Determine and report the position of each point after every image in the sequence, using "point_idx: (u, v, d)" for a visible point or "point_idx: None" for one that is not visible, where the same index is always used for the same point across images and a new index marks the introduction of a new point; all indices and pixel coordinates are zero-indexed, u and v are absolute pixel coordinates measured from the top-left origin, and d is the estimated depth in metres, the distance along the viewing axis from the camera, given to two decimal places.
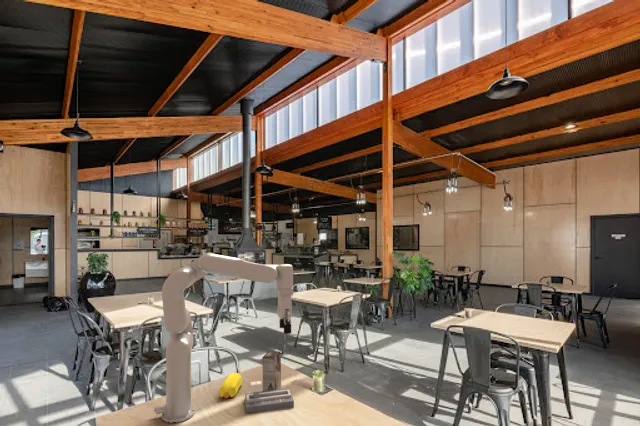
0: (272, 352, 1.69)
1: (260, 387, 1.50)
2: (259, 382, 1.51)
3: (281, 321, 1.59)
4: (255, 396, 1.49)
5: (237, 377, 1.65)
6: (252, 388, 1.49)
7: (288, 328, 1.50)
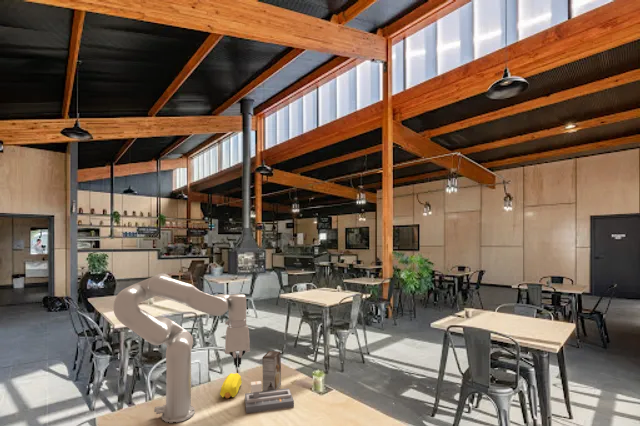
0: (272, 352, 1.69)
1: (260, 387, 1.50)
2: (259, 382, 1.51)
3: None
4: (255, 396, 1.49)
5: (237, 377, 1.65)
6: (252, 388, 1.49)
7: None
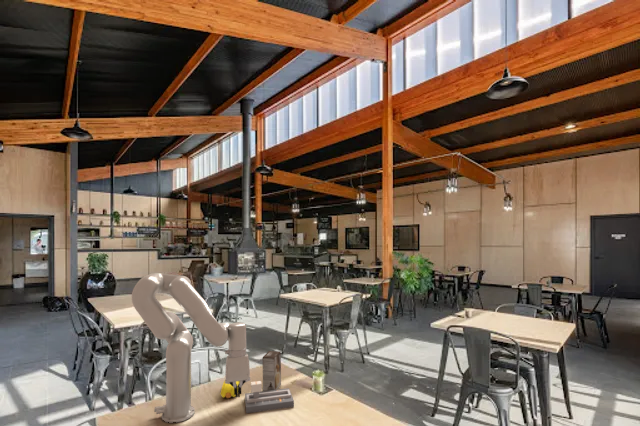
0: (272, 352, 1.69)
1: (260, 387, 1.50)
2: (259, 382, 1.51)
3: None
4: (255, 396, 1.49)
5: None
6: (252, 388, 1.49)
7: None
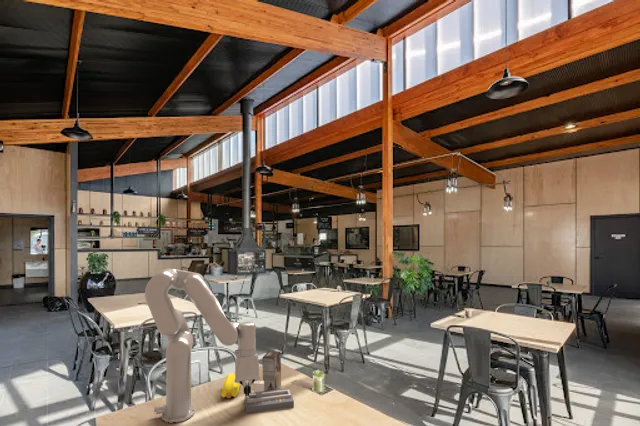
0: (272, 352, 1.69)
1: (263, 387, 1.50)
2: (262, 382, 1.51)
3: (247, 388, 1.49)
4: (258, 396, 1.49)
5: None
6: (255, 388, 1.49)
7: (250, 388, 1.50)
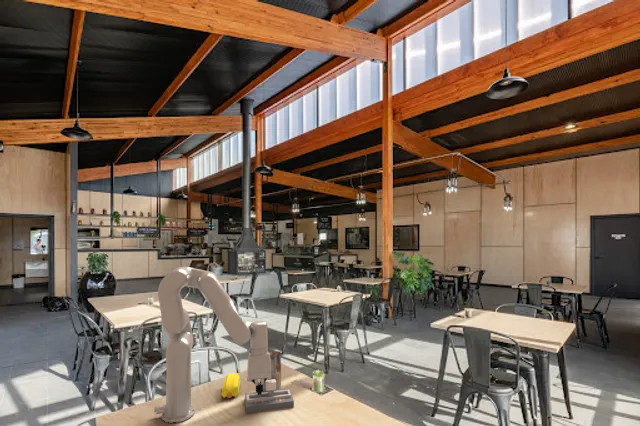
0: (272, 352, 1.69)
1: (275, 385, 1.51)
2: (274, 380, 1.53)
3: (259, 387, 1.50)
4: (270, 394, 1.50)
5: (237, 377, 1.65)
6: (267, 386, 1.50)
7: (262, 387, 1.51)
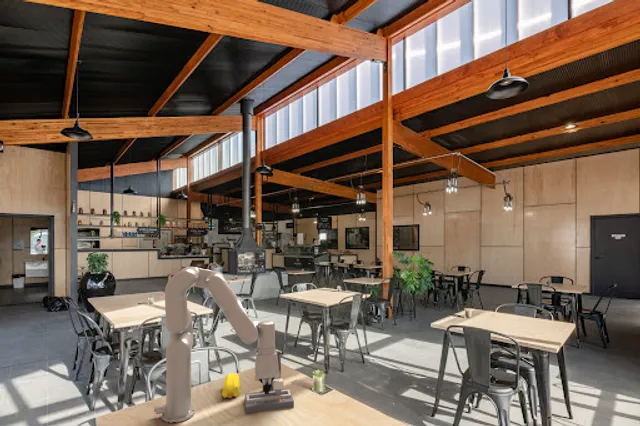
0: None
1: (282, 384, 1.52)
2: (281, 379, 1.53)
3: None
4: (277, 393, 1.51)
5: (237, 377, 1.66)
6: (274, 385, 1.51)
7: (269, 386, 1.52)
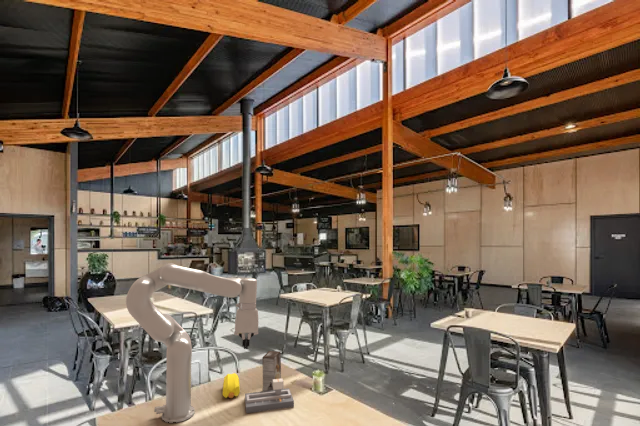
0: (272, 352, 1.69)
1: (282, 384, 1.52)
2: (281, 379, 1.53)
3: None
4: (277, 393, 1.51)
5: (236, 377, 1.66)
6: (274, 385, 1.51)
7: None
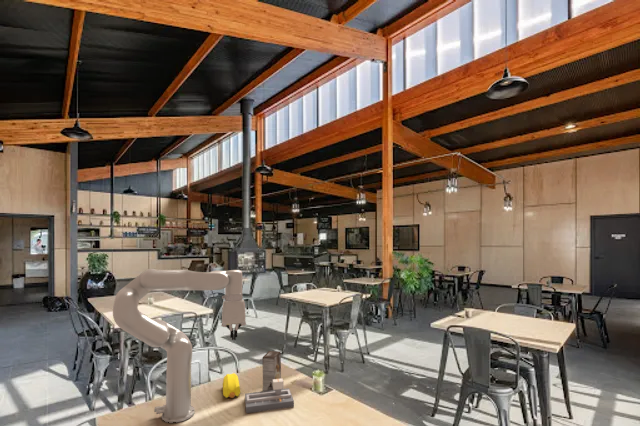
0: (272, 352, 1.69)
1: (282, 384, 1.52)
2: (281, 379, 1.53)
3: None
4: (277, 393, 1.51)
5: (236, 377, 1.66)
6: (274, 385, 1.51)
7: None
